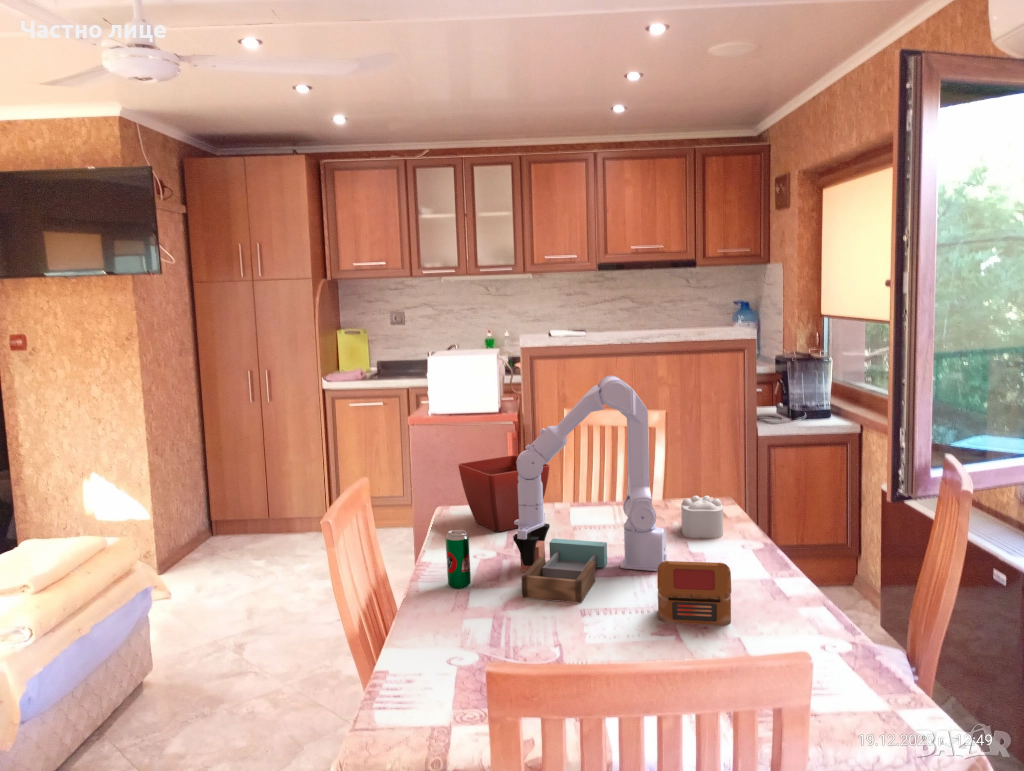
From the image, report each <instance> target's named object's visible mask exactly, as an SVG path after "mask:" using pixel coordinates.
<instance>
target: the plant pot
mask: <svg viewBox="0 0 1024 771" xmlns="http://www.w3.org/2000/svg"><path fill="white" fill-rule="evenodd" d="M518 456H519V455H516V454H515V455H507V456H506V455H505V456H501V457H494V458H487V459H480V460H474V461H468V462H462V463H461V462H459V463H458V470H459V474H460V475H459V476H460V479H461V485H462V488H463V491H464V494H465V497H466V501H467V504H468V506H469V509H470V512H471V514H472V516H473V519H474V521H475V522H476V523H477V524H479V525H481V526H484V527H486V528H487V529H490V530H492V531H494V532H504V531H507V530H513V529H519V528H518V525H515V524H514V521H515V520H517V519H519V507H518V482H519V481H518V470H517V464H516V461H517V458H518ZM549 474H550V464H548V463H546V464H544V465H543V470H542V473H541V482H542V484H543V500H544V498H545V495H546V490H547V485H548V479H549Z"/></svg>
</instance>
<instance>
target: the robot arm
mask: <svg viewBox="0 0 1024 771" xmlns="http://www.w3.org/2000/svg"><path fill="white" fill-rule="evenodd" d="M604 405H606V406H607V407H609V408H611V409H613V410H615V411H619V413H620V414H621V415H623V416H624V417H625V418H626V442H627V481H628V483H627V484H628V485H627V489H626V498H625V500H624V502H623V506H622V507H623V508H622V509H623V511H624V514H625V516H626V517H627V519H626V521H625V522H624V523H623V536H624V537H623V542H624V543H623V545H624V559H623V561H622V562H621V564H620V569H624V570H625V569H626V570H636V571H648V572H649V571H650V572H657V569H658V565H659V564H660V563H661V562H664V561H668V559H667V532H666V529H665V528H662V527H658V526H656V522H657V513H656V510H655V508H654V506H653V501H652V500H653V499H652V493H651V488H650V452H649V450H650V447H649V442H650V440H649V412H648V408H647V406H646V405H645V403H644V402H643V401H642V399H641V398H640V397H639V395H638V394H637V392H636V391H635V390H634V388H633V387H631V386H630V385H629V384H628V383H626V382H625V381H624V380H622V379H620V378H619V377H618V376H615V375H607V376H605V377H603V378H601V380H600V381H599V382H598V384H595V385H594V386H592V387H591V388H590V389H589V390H588V391H587V392H586V393H585V394H584V395H583V396H582V397H581V398H580V399H579V400H578V402H577V403H576V404H574V406H573V408H571V410H570V411H569V412H568V413H567V414H566V415H565V416H564V417H563V418H562V419H561V420H560V422H559V423H558V424H557V425H548V426H547V427H546V428H544V427H542V429H540V430H539V436H537V438H535V439H534V440H533V441H532V443H531V444H527V445H526V446H525V449H526V450H523V451H521V452H520V453H519V454H518V455H517V456H518V458H517V461H516V464H517V470H518V481H519V482H518V507H519V519H517V520H515V521H514V524H515V525H518V528H517V531H516V532H517V533H515V534H514V535H513V536H512V538H513V542H514V543H515V544H516V547H517V548H518V551H519V554H521V558H522V562H523V565H525V566H532V565H533V563H534V554H535V547H536V543H537V541H545V540H546V537H547V534H548V532H549V530H550V523H546V512H544V499H543V484H542V482H541V473H542V470H543V465H544V464H548V463H549V462H551V460H553V458H554V457H555V456H556V455H557V454H558V453H559V452H560V451H562V449H563V448H564V447H565V446H566V445H567V442H568V438H567V436H569V434H570V433H571V432H572V431H573V430H574V429H575V428H576V427H578V425H579V424H581V423H582V422H583V421H584V420H585V419H586V418H587V417H588V416H589V415H590V414H591V413H593V412H594V413H595V412H599V411H603V410H605V407H604Z"/></svg>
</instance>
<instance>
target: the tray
mask: <svg viewBox="0 0 1024 771" xmlns="http://www.w3.org/2000/svg"><path fill="white" fill-rule="evenodd" d="M548 545H549V559H548V561H546V562H545V565H544V566H543V568H542V573H543V577H552V578H563V579H574V580H576V579H577V578H578V576H579V575H580V574H581V572H582V571H583V569H584V568H585V567H586V565H587V564H588V563H589V561H593V562H595V571H596V570H597V568H605V567H606V566H607V565H608V542H605V541H594V540H591V541H590V540H580V539H565V538H552V539H551V540H550V541H549V542H548Z"/></svg>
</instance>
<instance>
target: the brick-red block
mask: <svg viewBox="0 0 1024 771" xmlns="http://www.w3.org/2000/svg"><path fill="white" fill-rule="evenodd" d="M545 548H546V544H545V541H537V543H536V547H535V554H534V562H535V561H536V560H537V559H538V558H539V557H544V558H545V559H546V549H545ZM519 554H520V553H519ZM519 556H520V571H521V572H526V571H527V570H528V569H529V568H530V567H531V566H525V565H523V562H522V558H521V554H520V555H519ZM533 564H534V563H533Z"/></svg>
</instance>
